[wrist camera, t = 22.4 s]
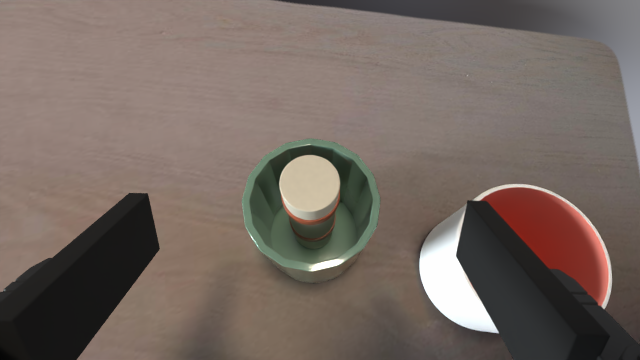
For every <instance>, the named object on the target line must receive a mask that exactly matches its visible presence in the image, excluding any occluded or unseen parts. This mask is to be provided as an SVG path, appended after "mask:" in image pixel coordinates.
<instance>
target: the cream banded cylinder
mask: <svg viewBox="0 0 640 360" xmlns="http://www.w3.org/2000/svg"><path fill="white" fill-rule="evenodd" d="M279 186H280V191H281V198H282V202H283V205H284V208H285V210H286V212H287V214H288V215H289V222H290V225H291V228H292V230H293V232H294V233H295V236H296V239H297V240H298V242H299V243H300V244H301V245H303V246H304V247H306V248H310V249H317V248H320V247H323V246H324V245H326V244H327V243H328V242H329V240H330V238H331V236H332V232H333V229H334V226H335V221H336V209H337V207H338V204H339V199H340V178H339V174H338V172H337V170H336V168H335V167H334V166H333V165H332V164H331V163H330V162H329V161H328V160H326V159H324V158H322V157H319V156H315V155H305V156H301V157H298V158H296V159H294V160H292V161H291V162H290V163H288V164H287V165H286V167H285V168H284V170H283V171H282V174H281V176H280V182H279Z"/></svg>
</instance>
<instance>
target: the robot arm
mask: <svg viewBox="0 0 640 360" xmlns="http://www.w3.org/2000/svg"><path fill="white" fill-rule="evenodd" d="M159 249H160V248H159V243H158V238H157V234H156V229H155V224H154V220H153V215H152V211H151V206H150V201H149V197H148V193H129V194H128V195H126V196H125V197H124V198H123V199H122V200H121V201H119V202H118V203H117V204H116V205H115V206H113V207H112V208H111V209H110V210H109V211H108V212H106V213H105V214H104V215H103V216H102V217H100V218H99V219H98V220H97V221H96V222H94V223H93V224H92V225H91V226H90V227H89V228H87V229H86V230H85V231H84V232H83V233H81V234H80V235H79V236H78V237H77V238H75V239H74V240H73V241H72V242H71V243H70V244H68V245H67V246H66V247H65V248H64V249H62V250H61V251H60V252H59V253H58V254H57V255H55V256H54V257H53V258H48V259H46V260H44V261H42V262H40V263H38V264H36V265H35V266H33V267H31V268H29V269H28V270H27V271H26V272H24V273H23V274H22V275H21V276H20V277H18V278H17V279H16V281H15V282H12V283H11V284H10V285H8V286H7V287H6V288H5V289H4V291H3V292H0V360H77V358H78V357H79V356H80V354H81V353H82V352H83V350H84V349H85V348H86V346H87V345H88V344H89V342H90V341H91V340H92V338H93V337H94V336H95V334H96V333H97V332H98V330H99V329H100V328H101V326H102V325H103V324H104V323H105V321H106V320H107V319H108V317H109V316H110V315H111V313H112V312H113V311H114V309H115V308H116V307H117V305H118V304H119V303H120V301H121V300H122V299H123V297H124V296H125V295H126V293H127V292H128V291H129V289H130V288H131V287H132V285H133V284H134V283H135V281H136V280H137V279H138V277H139V276H140V275H141V273H142V272H143V271H144V269H145V268H146V267H147V265H148V264H149V263H150V261H151V260H152V259H153V257H154V256H155V255H156V253H157V252H158V251H159ZM456 258H457V259H458V261H459V263H460V265H461V266H462V268H463V270H464V272H465V274H466V275H467V277H468V279H469V281H470V282H471V284H472V286H473V288H474V290H475V291H476V293H477V295H478V297H479V298H480V300H481V302H482V304H483V305H484V307H485V309H486V311H487V313H488V314H489V316H490V318H491V320H492V321H493V323H494V325H495V327H496V329H497V330H498V332H499V334H500V336H501V337H502V339H503V341H504V343H505V345H506V346H507V348H508V350H509V352H510V353H511V355H512V357H513V359H514V360H640V345H639V344H638V343H637V342H636V341H635V340H634V339H633V338H632V337H631V336H630V335H629V334H628V333H627V332H626V331H625V330H624V329H623V328H622V327H621V326H620V325H619V324H618V323H617V322H616V321H615V320H614V319H613V318H612V317H611V316H610V315H609V314H608V313H607V312H606V311H605V310H604V309H603V308H602V307H601V306H598V303H597V302H596V301H595V299H594V298H593V297H592V296H591V295H588V292H587V291H586V290H585V289H584V288H583V287H582V286H581V285H580V284H579V283H578V282H577V281H576V280H575V279H573V278H571V277H570V276H568V275H567V274H565V273H564V272H562V271H561V270H559V269H549V268H548V267H547V266H546V265H545V264H544V263H543V262H542V261H541V260H540V259H539V257H538V256H537V255H536V254H535V253H534V252H533V251H532V250H531V249H530V248H529V247H528V246H527V244H526V243H525V242H524V241H523V240H522V239H521V238H520V237H519V236H518V235H517V234H516V232H515V231H514V230H513V229H512V228H511V227H510V226H509V225H508V224H507V223H506V222H505V220H504V219H503V218H502V217H501V216H500V215H499V214H498V213H497V212H496V211H495V210H494V208H493V207H492V206H491V205H490V204H489V203H488V202H487V201H467V206H466V210H465V215H464V220H463V224H462V229H461V233H460V238H459V242H458V247H457V251H456Z"/></svg>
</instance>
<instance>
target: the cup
mask: <svg viewBox="0 0 640 360" xmlns="http://www.w3.org/2000/svg"><path fill="white" fill-rule="evenodd" d="M472 201H487V202H488V203H489V204H490V205H491V206H492V207H493V208H494V210H495V211H496V212H497V213H498V214H499V215H500V216H501V217H502V218H503V219H504V220H505V222H506V223H507V224H508V225H509V226H510V227H511V228H512V229H513V230H514V231H515V232H516V234H517V235H518V236H519V237H520V238H521V239H522V240H523V241H524V242H525V243H526V244H527V246H528V247H529V248H530V249H531V250H532V251H533V252H534V253H535V254H536V255H537V256H538V257H539V259H540V260H541V261H542V262H543V263H544V264H545V265H546V266H547V267H548V268H549V269H559V270H561V271H562V272H564V273H565V274H567V275H568V276H570V277H571V278H573V279H575V280H576V281H577V282H578V283H579V284H580V285H581V286H582V287H583V288H584V289H585V290H586V291H587V292H588V295H591V296H592V297H593V298H594V299H595V301H596V302H597V303H598V306H601V307H602V308H603V309H605V307H606V305H607V303H608V300H609V297H610V293H611V287H612V272H611V264H610V259H609V255H608V252H607V249H606V247H605V245H604V242H603V240H602V238H601V237H600V235H599V233H598V231H597V230H596V228H595V227H594V226H593V224H592V223H591V222H590V221H589V219H588V218H587V217H586V216H585V215H584V214H583V213H582V212H581V211H580V210H579V209H578V208H577V207H575V206H574V205H573V204H572V203H570V202H569V201H567V200H566V199H564V198H563V197H561V196H559V195H557V194H555V193H553V192H551V191H549V190H546V189H543V188H540V187H536V186H532V185H525V184H508V185H502V186H498V187H494V188H492V189H489V190H487V191H485V192H483V193H482V194H480V195H479V196H477V197H476V198H475V199H473V200H472ZM466 206H467V204H466V205H465V206H463V207H462V208H461V209H459V210H458V211H456V212H455V213H454V214H452V215H451V216H449V217H448V218H447V219H445V220H444V221H442V222H441V223H440V224H438V225H437V226H436V227H435V228H434V229H433V230H432V231H431V232H430V233H429V235H428V236H427V238H426V239H425V241H424V244H423V246H422V249H421V253H420V275H421V279H422V283H423V286H424V288H425V290H426V293H427V294H428V296H429V298H430V299H431V301H432V302H433V304H434V305H435V306H436V307H437V308H438V309H439V310H440V311H441V312H442V313H443V314H444V315H445V316H446V317H448V318H449V319H450V320H452V321H454V322H455V323H457V324H459V325H461V326H464V327H466V328H469V329H473V330H478V331H485V332H492V333H499V332H498V330H497V329H496V327H495V325H494V323H493V321H492V320H491V318H490V316H489V314H488V313H487V311H486V309H485V307H484V305H483V304H482V302H481V300H480V298H479V297H478V295H477V293H476V291H475V290H474V288H473V286H472V284H471V282H470V281H469V279H468V277H467V275H466V274H465V272H464V270H463V268H462V266H461V265H460V263H459V261H458V259H457V258H456V251H457V247H458V242H459V238H460V233H461V229H462V224H463V220H464V215H465V210H466Z"/></svg>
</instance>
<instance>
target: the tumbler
mask: <svg viewBox="0 0 640 360" xmlns="http://www.w3.org/2000/svg"><path fill="white" fill-rule="evenodd" d="M305 155H315V156H319V157H322V158H324V159H326V160H328V161H329V162H330V163H331V164H332V165H333V166H334V167H335V168H336V170H337V172H338V174H339V178H340V199H339V204H338V207H337V209H336V221H335V226H334V229H333V232H332V236H331V238H330V240H329V242H328V243H327V244H326V245H324V246H323V247H320V248H317V249H310V248H306V247H304V246H303V245H301V244H300V243H299V242H298V240H297V239H296V236H295V233H294V232H293V230H292V228H291V225H290V222H289V215H288V214H287V212H286V210H285V208H284V205H283V202H282V198H281V191H280V186H279V182H280V176H281V174H282V171H283V170H284V168H285V167H286V165H287V164H288V163H290V162H291V161H292V160H294V159H296V158H298V157H301V156H305ZM380 201H381V200H380V196H379V192H378V189H377V185H376V182H375V178H374V175H373V174H372V172H371V171H370V170H369V169H368V167H367V166H366V165H365V164H364V162H363V161H362V160H361V158H360V157H359V156H358V155H357V154H355V153H353V152H352V151H350V150H348V149H346V148H345V147H343V146H341V145H339V144H338V143H335V142H330V141H324V140H318V139H305V140H300V141H294V142H289V143H285V144H284V145H282V146H280V147H279V148H277V149H275V150H274V151H272V152H270V153H269V154H267V155H265V156H264V157H263V159H262V160H261V161H260V162H259V164H258V165H257V166H256V168H255V169H254V170H253V171H252V173H251V174H250V175H249V177H248V181H247V184H246V188H245V191H244V195H243V199H242V207H243V214H244V221H245V227H246V229H247V231H248V232H249V234H250V236H251V237H252V239H253V241H254V242H255V244H256V245H257V247H258V249H259V250H260V251H261V252H262V253H263V254H264V255H265V256H266V257H267V258H268V259H269V260H270V261H271V262H272V263H273V264H274V265H275V266H276V267H277V268H279V269H280V270H281V271H283V272H284V273H286V274H287V275H288V276H290V277H291V278H293V279H295V280H299V281H303V282H308V283H319V282H325V281H328V280H332V279H335V278H336V277H337V276H339V275H341V274H342V273H343V272H344V271H346V270H347V269H348V268H350V266H351V265H352V264H353V262H354V261H355V260H356V258H357V257H358V255H359V254H360V253H361V251H362V250H363V249H364V247H365V245H366V244H367V242H368V240H369V239H370V237H371V235H372V234H373V232H374V230H375V229H376V227H377V224H378V216H379V208H380Z"/></svg>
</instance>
